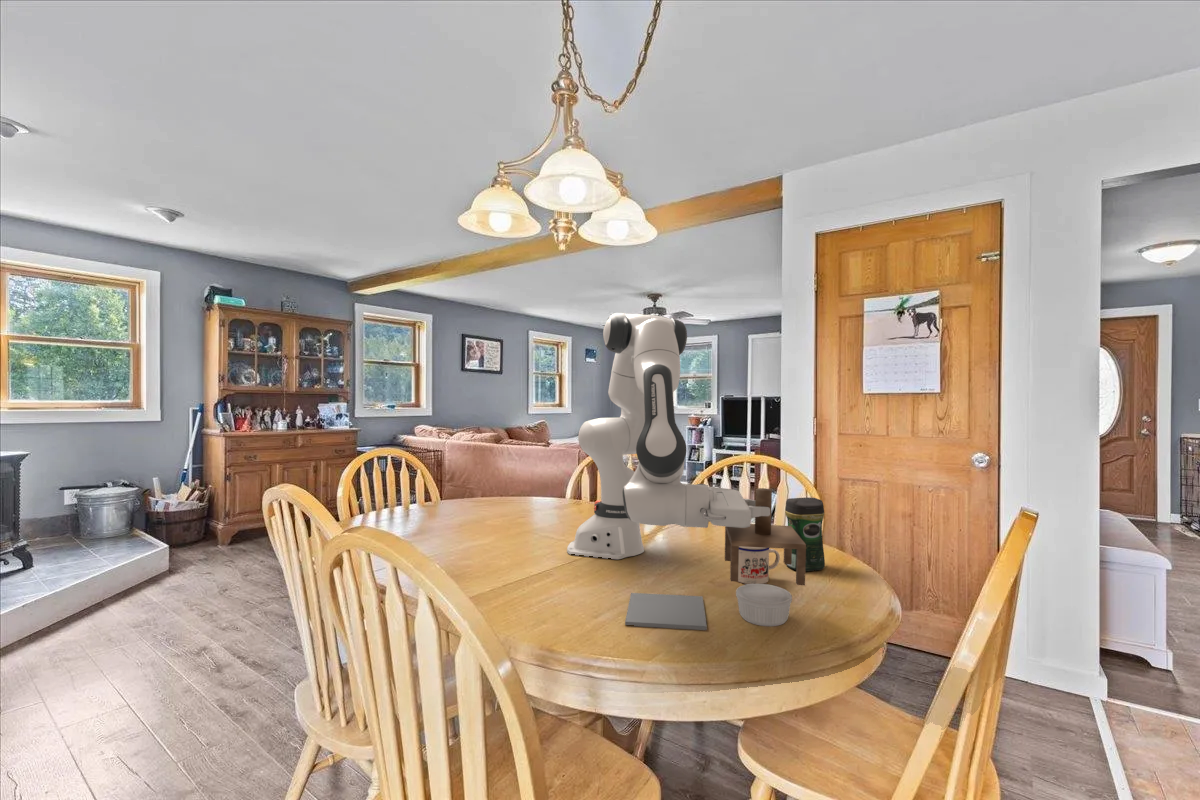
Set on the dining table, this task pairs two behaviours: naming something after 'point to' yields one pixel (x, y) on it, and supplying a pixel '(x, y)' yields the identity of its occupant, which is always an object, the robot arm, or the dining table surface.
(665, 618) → the grey rubber mat
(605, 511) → the robot arm
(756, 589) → the ramekin
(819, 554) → the coffee jar
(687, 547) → the dining table surface
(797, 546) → the walnut cover
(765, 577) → the teacup with lid
